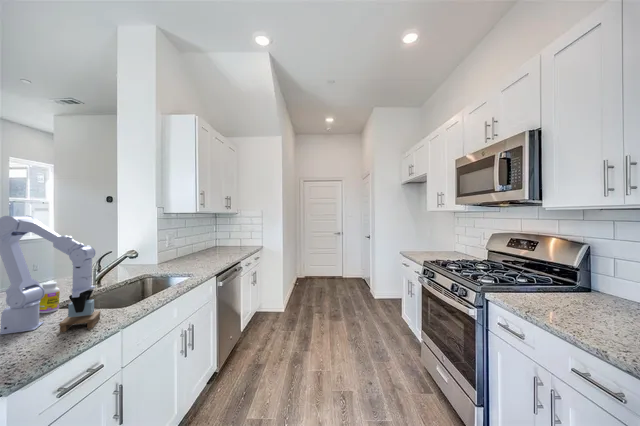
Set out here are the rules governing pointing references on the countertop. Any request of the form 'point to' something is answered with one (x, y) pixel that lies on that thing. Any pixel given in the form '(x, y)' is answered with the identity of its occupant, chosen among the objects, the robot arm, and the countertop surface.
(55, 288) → the supplement bottle
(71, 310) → the housing
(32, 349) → the countertop surface
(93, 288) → the robot arm
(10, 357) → the countertop surface
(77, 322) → the stand
